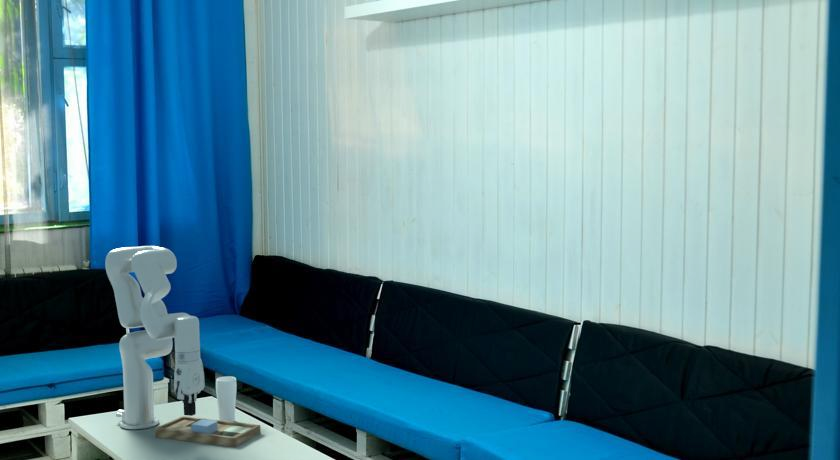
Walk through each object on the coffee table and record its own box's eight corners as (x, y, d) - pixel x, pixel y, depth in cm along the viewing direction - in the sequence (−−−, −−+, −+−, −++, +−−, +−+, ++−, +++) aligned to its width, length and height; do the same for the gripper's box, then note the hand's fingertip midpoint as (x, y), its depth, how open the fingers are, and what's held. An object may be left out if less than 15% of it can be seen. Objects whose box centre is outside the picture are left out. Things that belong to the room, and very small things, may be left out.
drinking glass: (232, 425, 313) (231, 381, 312) (213, 424, 314) (212, 380, 313) (240, 419, 320) (239, 376, 318) (221, 418, 321) (220, 375, 320)
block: (191, 433, 297) (190, 424, 297) (201, 428, 303) (201, 419, 302) (207, 435, 295) (206, 426, 295) (217, 430, 300) (217, 421, 300)
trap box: (155, 436, 300) (155, 428, 300) (182, 424, 314) (182, 416, 314) (235, 447, 290) (235, 438, 290) (260, 433, 304) (260, 425, 303)
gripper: (183, 361, 279) (185, 422, 280) (211, 352, 293) (213, 409, 294) (162, 360, 282) (165, 420, 283) (191, 351, 296) (193, 408, 297)
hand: (189, 414), depth 289 cm, fingers closed
